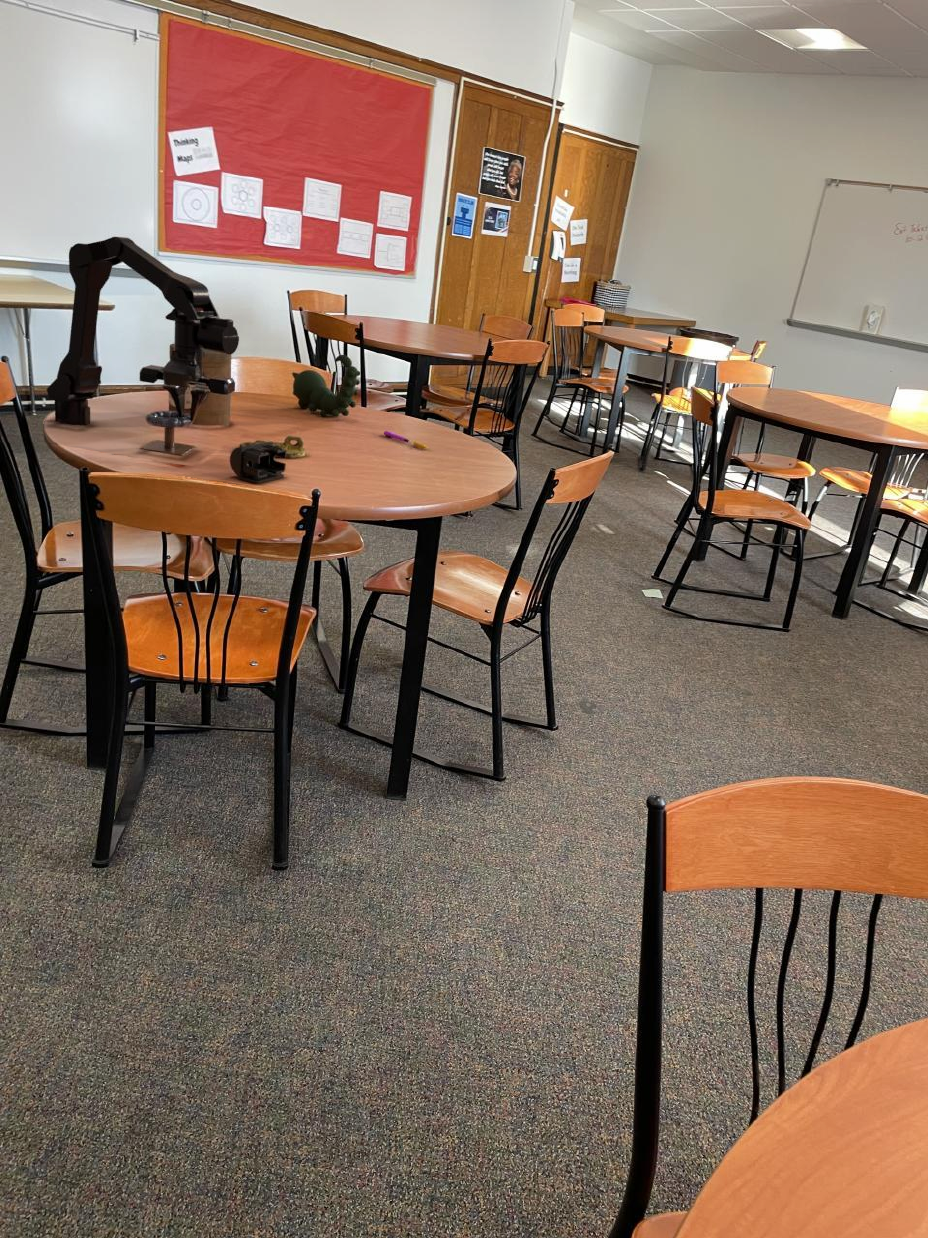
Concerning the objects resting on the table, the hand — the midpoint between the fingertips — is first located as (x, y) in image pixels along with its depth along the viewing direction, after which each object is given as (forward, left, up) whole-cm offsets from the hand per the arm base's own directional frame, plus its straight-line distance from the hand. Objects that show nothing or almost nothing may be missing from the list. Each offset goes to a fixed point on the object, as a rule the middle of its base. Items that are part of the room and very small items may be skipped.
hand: (186, 420), depth 192 cm
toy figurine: (+14, +68, -8) cm, 70 cm away
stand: (-4, 0, -8) cm, 8 cm away
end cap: (+18, -8, -8) cm, 21 cm away
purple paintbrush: (+42, +48, -8) cm, 64 cm away
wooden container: (-9, +33, -8) cm, 35 cm away
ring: (-4, 0, 0) cm, 4 cm away
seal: (+15, +14, -8) cm, 22 cm away
